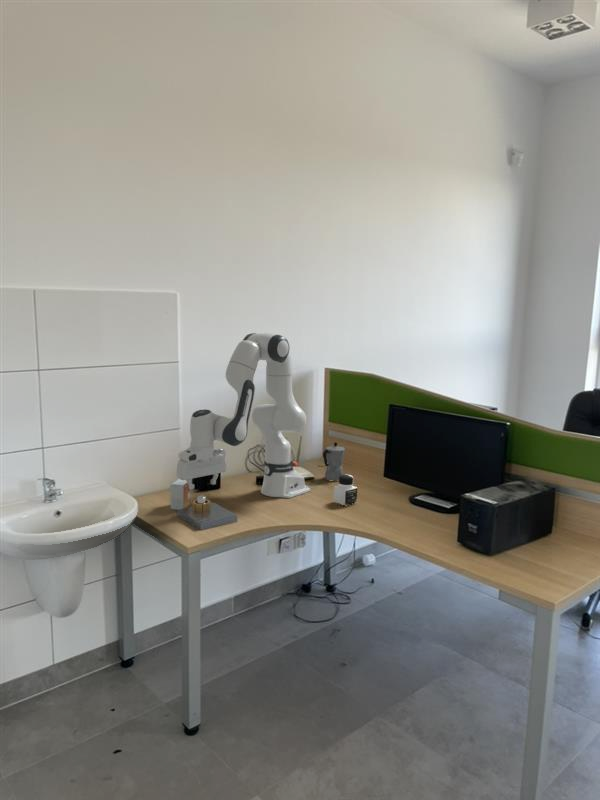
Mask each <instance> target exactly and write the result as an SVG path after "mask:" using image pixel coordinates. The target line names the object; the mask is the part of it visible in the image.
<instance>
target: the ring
mask: <svg viewBox="0 0 600 800" xmlns="http://www.w3.org/2000/svg"><path fill="white" fill-rule="evenodd" d="M211 503H212V502H211V500H209V499H207V498H206V501H205V503H204V504H198V503H197V499H194V500H193V501H192V504H191V505H192V506H191V507H192V510H194V511H195V512H206V511H209V510H210V507H211Z"/></svg>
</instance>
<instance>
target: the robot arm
mask: <svg viewBox="0 0 600 800" xmlns="http://www.w3.org/2000/svg"><path fill="white" fill-rule="evenodd" d="M291 359H292V358H291V353H290V344H289V341H288V339H287V338H286V337H284V336H283V335H280V334H273V333H268V332H266V333H264V332H263V333H256V332H252V333H249V334H247V335H245V336H244V338H243V339H242V340H241V341H240V342H238V344H237V345H236V347H235V349H234V351H233V353H232V355H231V357H230V359H229V362H228V364H227V367H226V369H225V370H226V371H225V380H226V382H227V383H228V384H229V385H230V386H231V388H233V389H234V390H235V391H236V393H237V401H236V405H235V410H234V413H233V416H232V417H227V416H224V415H220V414H216V413H214V412H212V411H211V410H210V409H199V410H195V411H194V412H193V413H192V414H191V417H190V422H189V423H190V425H189V433H190V434H189V435H190V438H191V439H190V440H191V441H190V444H189V445H190V446H189V447H188V448H186V449H185V450H183V451H180V452H179V453H178V454H177V455H178V458H179V460H178V462H177V464H176V477H177V479H181V480H186V481H187V483H188V484H189V489H190V490H191V491H192V490H194V489H195V484H194V483H192V480H193V479H196V478H197V479H198V478H202V477H206V476H211V475H212V479H210V482H209V484H210V485H212V486H214V485H217V479H218V477H219V474H220V473H226V471H227V469H228V467H227V459H226V454H227V453H226V451H225V450H224V449H222V448H219V449H214V444H215V443H214V442H215V441H219V442H221V443H225V444H227V445H230V446H232V447H237V446H239V445H241V444H243V442H244V441H245V440H246V439H247V435H248V429H249V428H248V427H249V426H248V425H249V419H250V416H251V419H252V422H253V424H254V425H255V426H256V427H257V428H258V429H259V431H260V433H261V435H262V439H263V440H264V452H265V453H264V461H263V474H264V475H263V481H262V486H261V489H260V493H261V494H262V495H264V496H266V497H271V498H272V497H273V498H283V499H286V498H287V499H291V498H293V497H297V496H300V495H303V494H305V493H308V492H310V491H311V488H310V487H309V486H307V485H306V483H305V481H306V480H305V477H304V476H303V475H302V474H300V473H299V472H298V471H296V470H295V469H294V467H295V468H296V467H298V465H299V464H298V462H296V461H291V451H292V449H291V448H292V447H291V446H292V445H291V443H290V441H289V440H287V439H286V438H285V436H284V435H283V432H284V433H300V432H302V431H303V430H305V427H306V425H307V422H308V421H307V420H308V419H307V415H306V413H305V411H304V410H303V409H302V408H301V407H300V406H299V404H298V403H297V401H296V398H295V397H294V393H293V366H292V365H293V364H292V360H291ZM261 360H262V361H265V362H266V366H265V367H266V368H265V369H266V372H265V374H266V375H265V379H266V380H265V385H266V386H265V389H266V392H267V393H266V394H267V395H268V396H270V397H271V398H272V399H273V401H274V403H275V404H271V403H263V404H258V405H256V406H255V407H254V409H253V411H252V406H253V402H254V401H253V400H254V398H255V390H256V387H255V384H254V377H255V373H256V370H257V367H258V364H259V361H261ZM251 411H252V412H251ZM251 413H252V414H251ZM250 414H251V415H250ZM190 481H191V482H190Z"/></svg>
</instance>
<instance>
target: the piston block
mask: <svg viewBox="0 0 600 800" xmlns="http://www.w3.org/2000/svg"><path fill="white" fill-rule="evenodd" d="M206 499H207V497H206V496H205V495H202V494H201V495H197V497H196V500H197V503H198V504H204V503H205V501H206ZM176 513H177V514H176V516H177V517H179V518H180V519H182V520H183V521H185V522H186V523H188V524H190V525H191V526H193V527H195V528H196V529H197V530H200V531H203V530H207V529H212V528H215V527H220V526H223V525H229V524H232V523H237V522H238V517H239V515H238V514H236V513H234V512H233V511H230V509H229V510H228V509H226V508H225V507H223V506H221V505H219V504H218V503H215V502H214V501H213V502H211V507H210V510H209V511H206V512H195V511H194V510H192V506H188V507H187V508H183V509H178V510H176Z"/></svg>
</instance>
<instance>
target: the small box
mask: <svg viewBox="0 0 600 800" xmlns="http://www.w3.org/2000/svg"><path fill="white" fill-rule="evenodd" d="M190 482H191V483H192V481H190ZM191 491H192V490H190V489H189V484H188V483H187V481H186V480H181V479H179V478H177V479H176V480H175V481H174V482H172V483H170V510H174V511H175V510H176V511H177V510H178V509H183V508H188V507H190V505H191V495H192V494H191V493H192V492H191Z"/></svg>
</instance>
